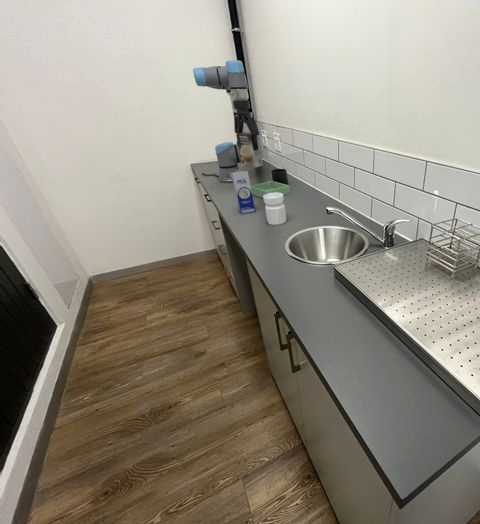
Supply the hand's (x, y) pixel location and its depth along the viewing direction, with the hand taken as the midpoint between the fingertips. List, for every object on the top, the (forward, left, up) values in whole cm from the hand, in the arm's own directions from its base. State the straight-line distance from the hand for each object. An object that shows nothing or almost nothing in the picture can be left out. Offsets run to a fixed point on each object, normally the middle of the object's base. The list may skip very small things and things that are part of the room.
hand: (249, 149), depth 150 cm
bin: (-2, +10, -26) cm, 28 cm away
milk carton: (+13, -15, -26) cm, 33 cm away
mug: (-13, +26, -26) cm, 39 cm away
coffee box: (0, 0, -9) cm, 9 cm away
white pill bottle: (+36, -14, -26) cm, 46 cm away
